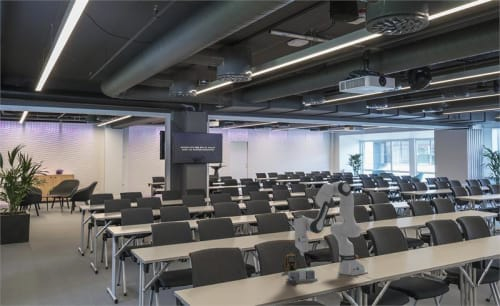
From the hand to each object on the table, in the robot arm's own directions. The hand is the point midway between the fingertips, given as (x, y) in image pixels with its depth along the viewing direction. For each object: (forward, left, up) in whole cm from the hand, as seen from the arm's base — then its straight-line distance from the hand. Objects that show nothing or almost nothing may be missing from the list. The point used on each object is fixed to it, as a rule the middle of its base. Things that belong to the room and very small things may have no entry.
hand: (302, 255), depth 293 cm
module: (+2, +3, -17) cm, 17 cm away
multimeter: (+1, -22, -18) cm, 29 cm away
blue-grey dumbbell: (+2, +3, -18) cm, 18 cm away
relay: (+11, +10, -18) cm, 23 cm away
